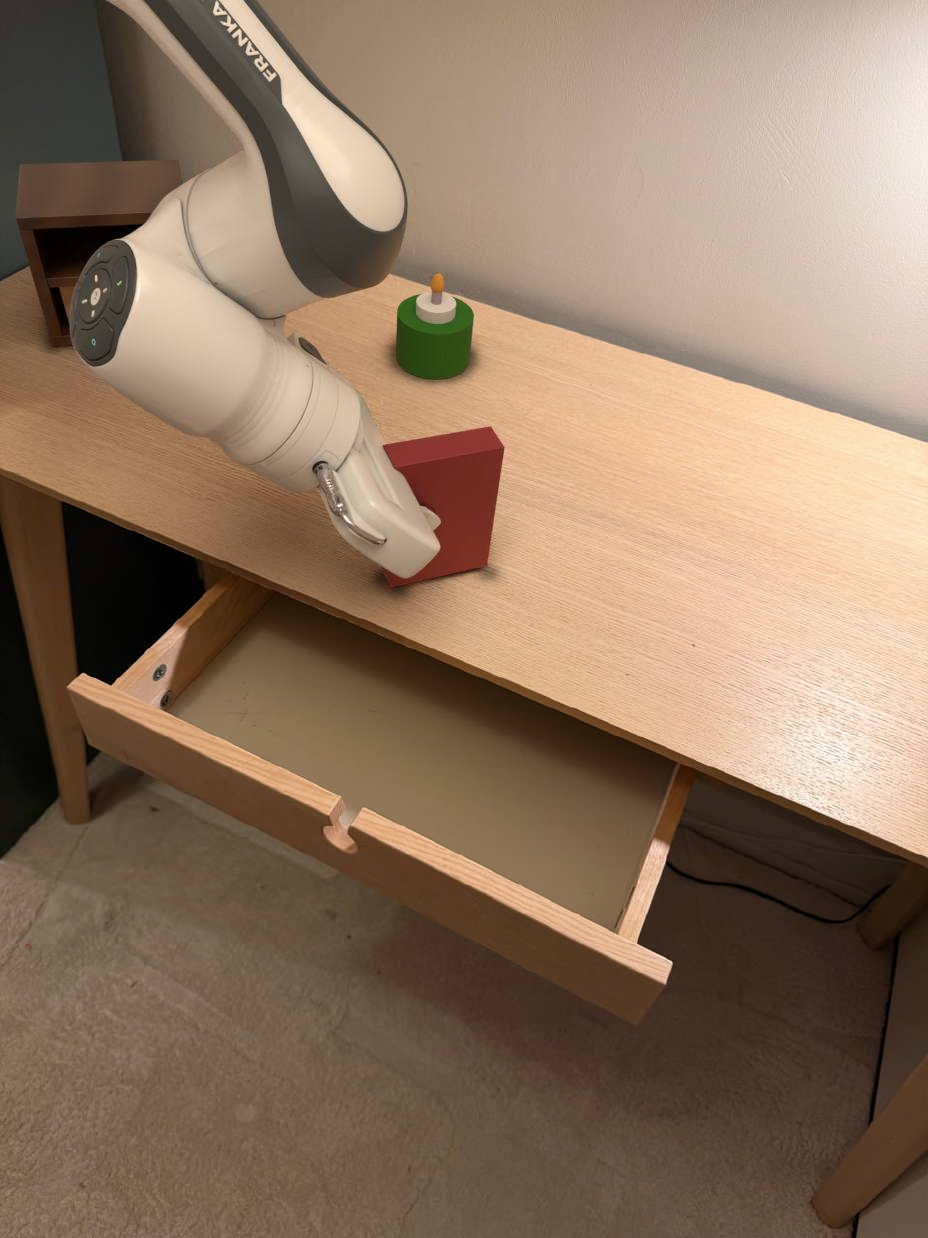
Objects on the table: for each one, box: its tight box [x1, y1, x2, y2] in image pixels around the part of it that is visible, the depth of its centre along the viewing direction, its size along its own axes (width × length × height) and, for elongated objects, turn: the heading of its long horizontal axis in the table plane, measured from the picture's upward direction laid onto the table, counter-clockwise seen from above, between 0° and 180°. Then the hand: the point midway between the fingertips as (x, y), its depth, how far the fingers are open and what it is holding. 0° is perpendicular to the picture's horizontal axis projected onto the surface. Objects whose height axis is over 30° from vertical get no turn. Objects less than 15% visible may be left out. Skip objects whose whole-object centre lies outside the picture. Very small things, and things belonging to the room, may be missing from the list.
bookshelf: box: [15, 159, 184, 348], centre depth 98 cm, size 16×12×14 cm
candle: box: [395, 272, 475, 380], centre depth 98 cm, size 8×8×10 cm
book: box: [380, 425, 505, 588], centre depth 75 cm, size 9×3×13 cm, turn 112°
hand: (423, 506), depth 74 cm, fingers closed on book, 3 cm apart
